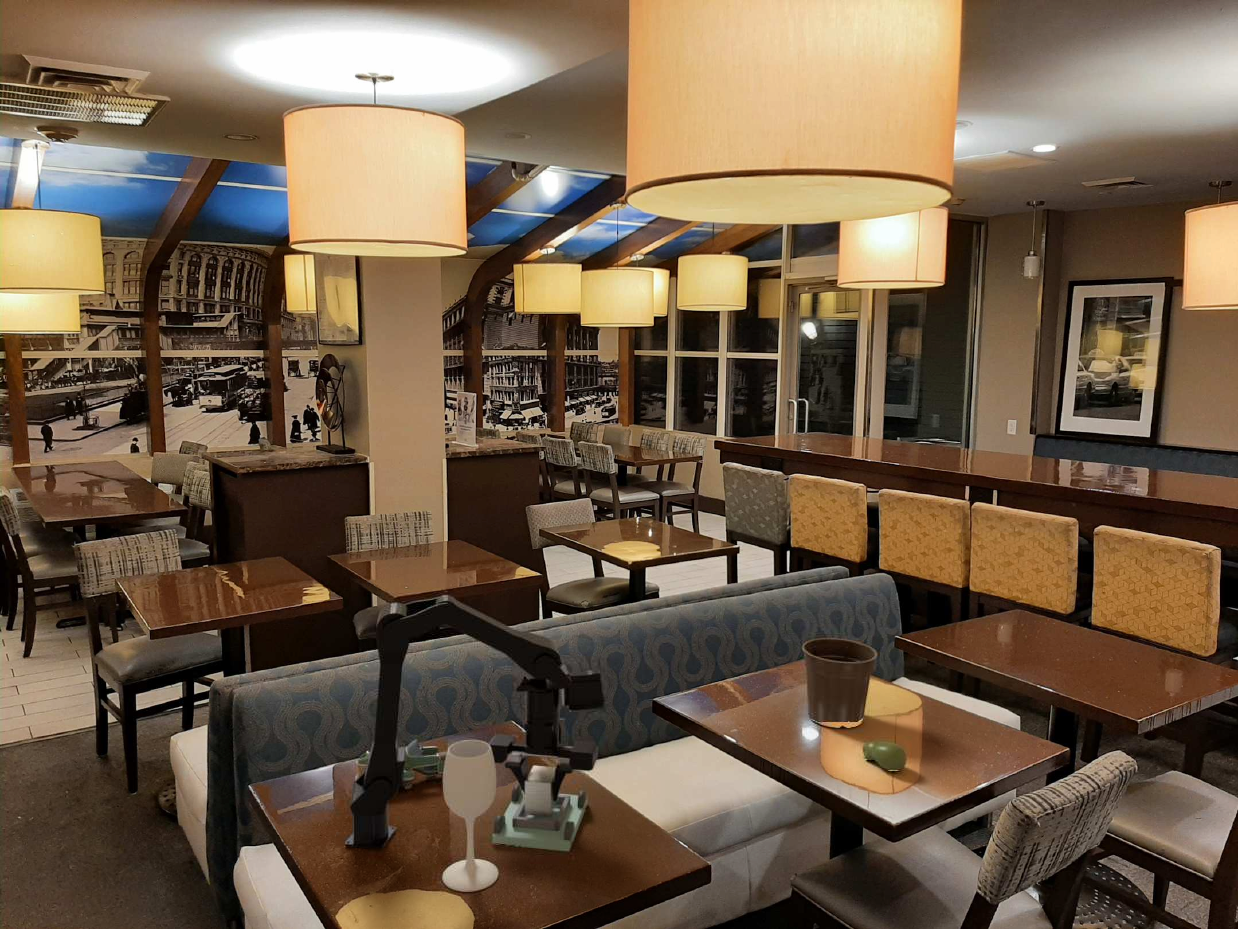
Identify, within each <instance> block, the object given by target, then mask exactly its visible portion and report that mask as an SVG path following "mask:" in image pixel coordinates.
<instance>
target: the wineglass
mask: <svg viewBox="0 0 1238 929" xmlns="http://www.w3.org/2000/svg"><path fill="white" fill-rule="evenodd" d="M442 776H443V777H442V791H443V792H442V793H443V798H444V801H445V804H446V805H447V807H448V808H449V810H451V812H452V813H453V814H455V815H457V816H458V817H460V818H463V819H464V820H465V825H466V834H467V835H466V844H467V845H466V857H465V858H466V859H463V860H460V861H457V862H454V863H453V864H451V865H449V866H448V867H447V868H446V869H445V870H444V872H443V873H442V878H441V879H442V882H443V883H444V885H445V886H446V887H447V888H449V889H450V890H453V891H457V892H462V893H463V892H465V893H466V892H467V893H468V892H470V893H471V892H475V891H476V892H477V891H481V890H483V889H487V888H488V887H490V886H492V885H493V884H494V883H496V881H497V879H498V878H499V874H500V873H499V869H498V867H497V866H496V864H493V863H492V862H489V861H488V860H485V859H479V858H475V852H474V851H475V850H474V849H475V848H474V846H475V845H474V826H475V821H476V818H478V817H479V816H482V815H483V814H484V813H485V812H486V811H487V810H488V809H489V808H490V807H491V805H492V803H493V802H494V800H495V796H496V791H497V769H496V763H495V762H494V757H493V753H492V749H491V746H490V745H489V742H488V743H487V742H486V741H483V740H479V739H464V740H460V741H456V742H454V743H453V744H451V745H449V747H448V749H447V755H446V759H445V765H444V771H443V775H442Z"/></svg>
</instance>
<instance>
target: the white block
mask: <svg viewBox="0 0 1238 929" xmlns="http://www.w3.org/2000/svg"><path fill="white" fill-rule="evenodd" d="M556 767H557V766H556ZM556 767H555V766H554V767H553V766H543V765H542V766H541V765H533V766H532V768H531V769H530V770H529V775H528V777H527V778H526V780H525V815H536V816H546V817H551V815H552V813H553V811H554V808H555V806H556V804H557V802H558V798H557V800H556V801H554V798H553V790H554V776H555V769H556Z"/></svg>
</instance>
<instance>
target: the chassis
mask: <svg viewBox="0 0 1238 929" xmlns="http://www.w3.org/2000/svg"><path fill="white" fill-rule="evenodd" d="M588 799H589V798H588V792H587V791H586V790H582V789H581V790H579V791H578V795H576V794H567V793H559V795H558V802H557V804H556V806H555V808H554V811H553V813H552V815H551V817H546V816H536V815H525V794H524V792H523V790H522V788H521V786H520V784H514V785H513V788H512V790H511V801H510V803H509V805H508V807H507V809H506V810H505V813H504V814H497V815H496V817H495V820H494V825H493V834H492V844H493V843H499V844H507V845H506V846H509V845H515V846H514V847H519V846H521V847H520V848H528V849H529V848H532V849H538V850H539V849H540V850H551V851H560V852H570V850H571V848H572V845H573V842H574V841H575V837H576V835H577V832H578V830H579V827H580V824H581V822H582V819H583V817H584V814H585V812H586V809H587V807H586V806H588V804H589V803H588ZM587 803H588V804H587ZM585 808H586V809H585ZM499 844H498V845H499Z"/></svg>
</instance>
